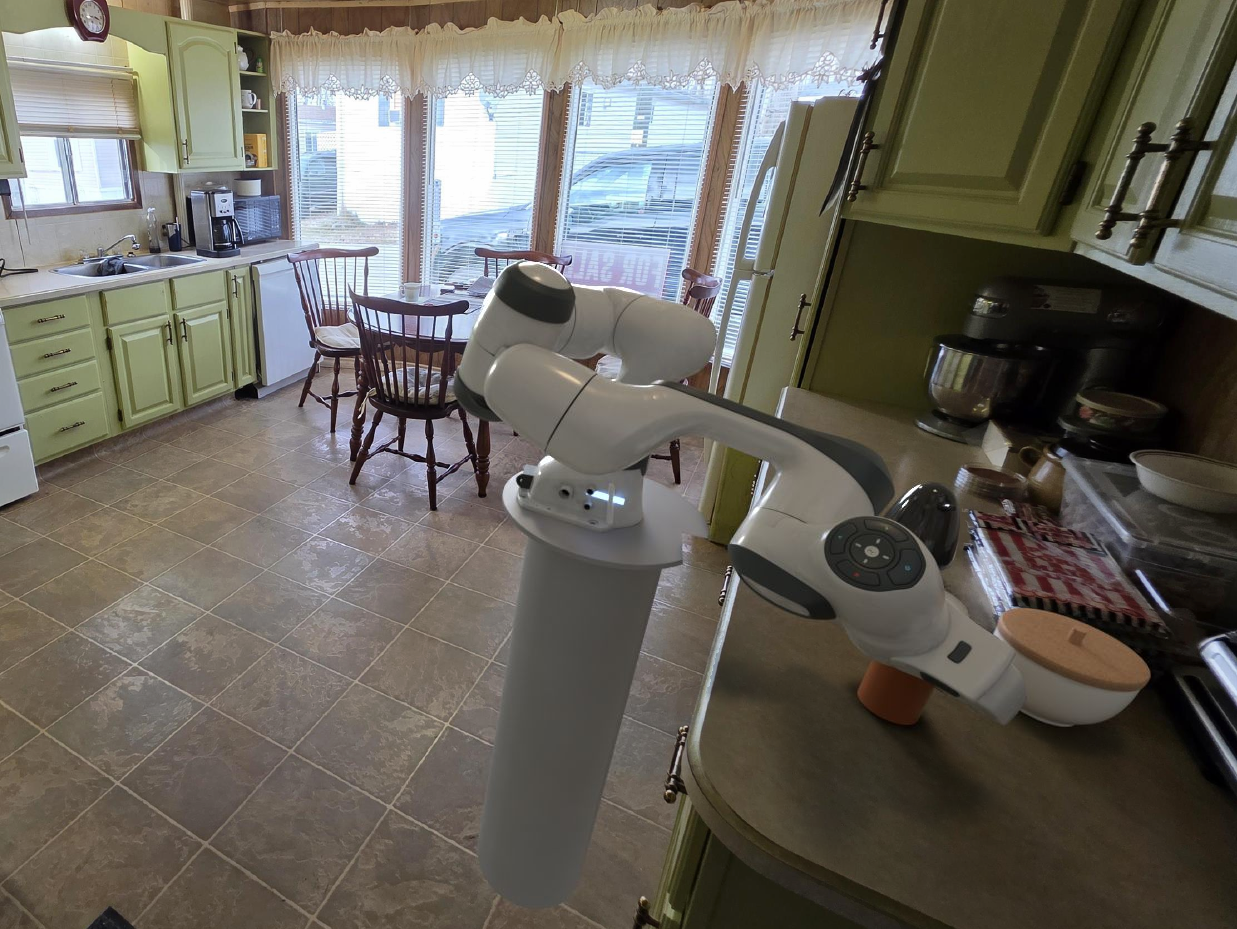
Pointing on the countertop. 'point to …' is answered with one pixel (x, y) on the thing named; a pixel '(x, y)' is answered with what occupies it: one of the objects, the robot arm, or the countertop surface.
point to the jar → (894, 693)
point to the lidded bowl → (1070, 667)
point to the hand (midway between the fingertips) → (909, 664)
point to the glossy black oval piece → (930, 519)
